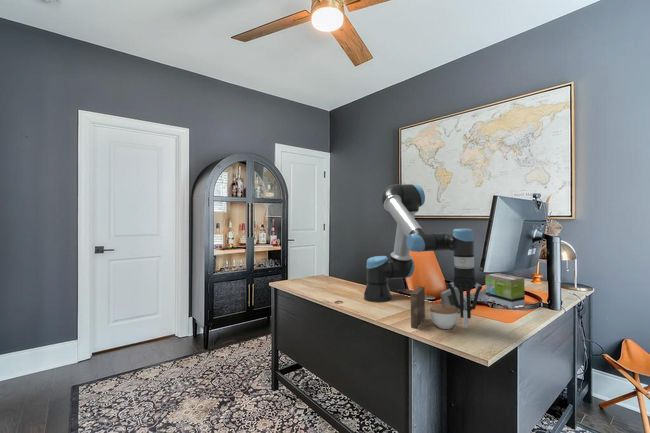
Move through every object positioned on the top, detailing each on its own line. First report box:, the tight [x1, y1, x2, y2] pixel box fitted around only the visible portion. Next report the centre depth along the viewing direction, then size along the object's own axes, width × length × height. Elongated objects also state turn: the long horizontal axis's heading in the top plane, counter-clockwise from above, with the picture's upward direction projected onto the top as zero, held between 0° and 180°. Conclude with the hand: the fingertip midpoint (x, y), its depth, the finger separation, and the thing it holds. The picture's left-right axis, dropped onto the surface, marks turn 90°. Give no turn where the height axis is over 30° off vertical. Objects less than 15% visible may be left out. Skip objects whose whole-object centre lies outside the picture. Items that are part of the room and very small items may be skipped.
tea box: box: [484, 272, 526, 310], centre depth 159 cm, size 15×10×15 cm, turn 23°
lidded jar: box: [429, 303, 459, 330], centre depth 129 cm, size 11×11×9 cm
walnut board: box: [410, 286, 426, 329], centre depth 134 cm, size 2×15×14 cm, turn 150°
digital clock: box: [439, 286, 460, 314], centre depth 148 cm, size 16×9×11 cm, turn 122°
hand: (465, 326), depth 124 cm, fingers closed
